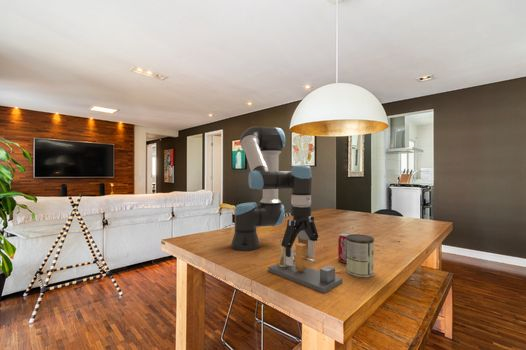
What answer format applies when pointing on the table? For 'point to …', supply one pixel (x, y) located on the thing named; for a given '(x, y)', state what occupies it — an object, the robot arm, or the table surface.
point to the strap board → (305, 277)
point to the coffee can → (360, 255)
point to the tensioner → (327, 274)
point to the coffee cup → (303, 239)
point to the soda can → (342, 247)
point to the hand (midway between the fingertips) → (300, 260)
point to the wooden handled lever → (299, 257)
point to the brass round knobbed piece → (282, 256)
